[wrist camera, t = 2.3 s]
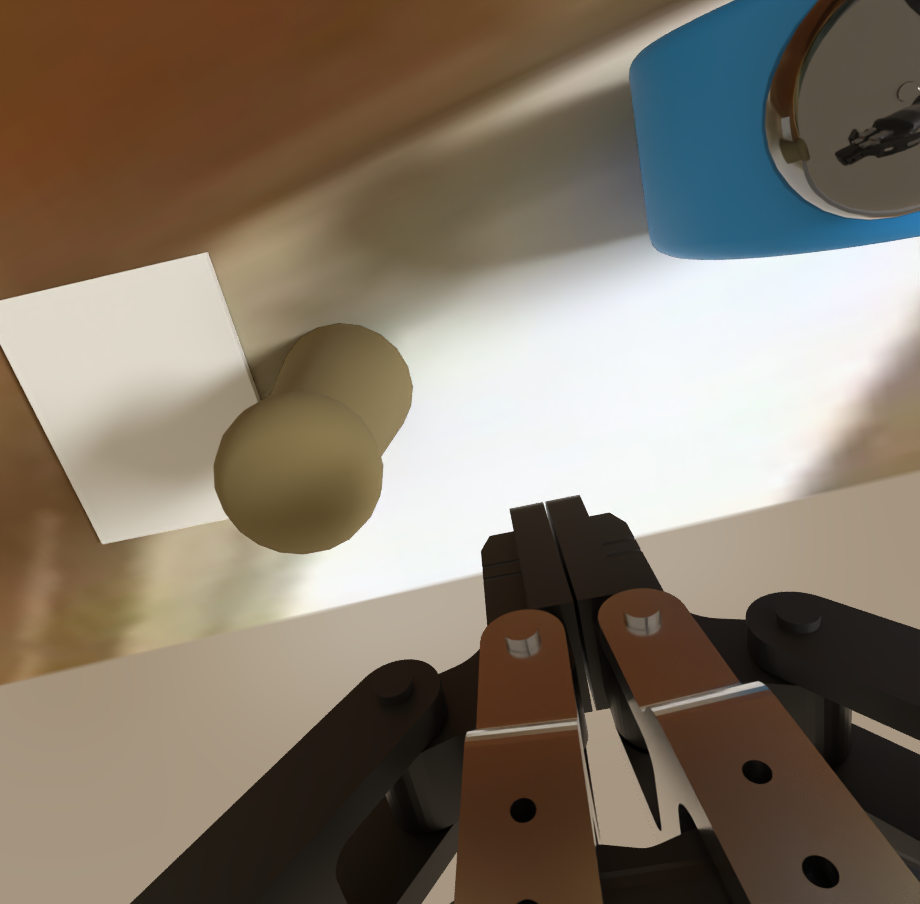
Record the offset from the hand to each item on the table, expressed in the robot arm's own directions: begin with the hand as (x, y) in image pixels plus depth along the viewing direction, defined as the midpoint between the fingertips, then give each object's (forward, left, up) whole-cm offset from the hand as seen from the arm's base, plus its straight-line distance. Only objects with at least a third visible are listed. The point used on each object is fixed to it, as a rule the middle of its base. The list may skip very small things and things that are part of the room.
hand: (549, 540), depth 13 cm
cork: (0, -7, -16) cm, 17 cm away
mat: (-1, -16, -16) cm, 23 cm away
